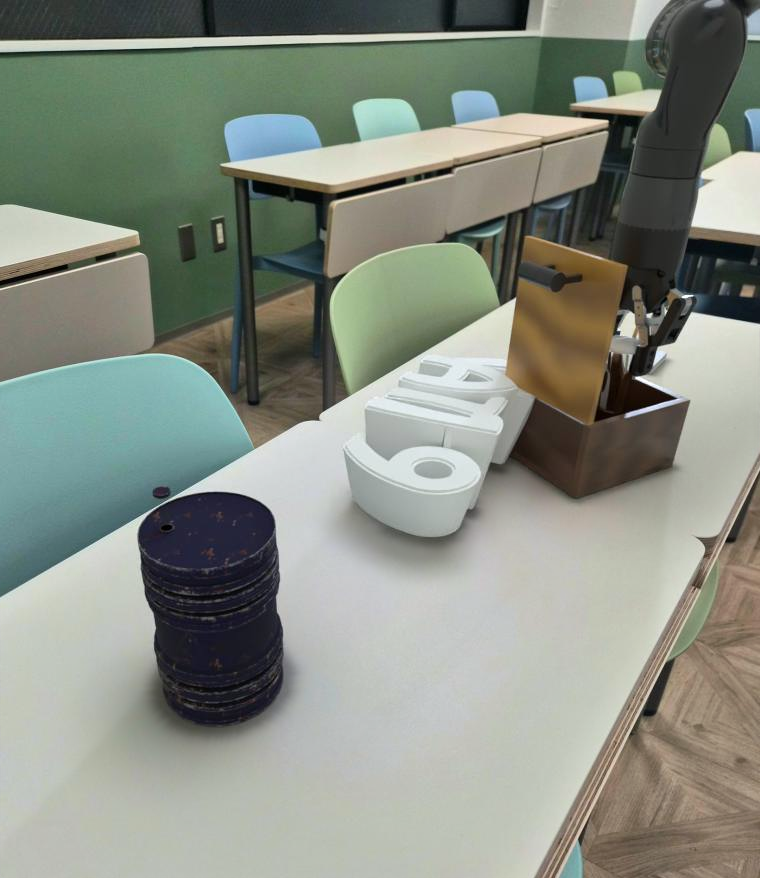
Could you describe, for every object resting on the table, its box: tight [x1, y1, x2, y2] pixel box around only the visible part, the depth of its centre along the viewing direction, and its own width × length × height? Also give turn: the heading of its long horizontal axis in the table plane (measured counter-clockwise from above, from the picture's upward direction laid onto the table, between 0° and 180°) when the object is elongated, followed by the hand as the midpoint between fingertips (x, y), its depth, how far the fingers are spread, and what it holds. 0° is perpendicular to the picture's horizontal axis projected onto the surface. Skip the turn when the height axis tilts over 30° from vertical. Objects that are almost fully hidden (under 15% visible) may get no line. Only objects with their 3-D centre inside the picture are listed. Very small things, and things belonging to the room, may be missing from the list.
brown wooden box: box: [509, 376, 691, 500], centre depth 90 cm, size 16×14×9 cm
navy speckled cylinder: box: [136, 485, 285, 728], centre depth 55 cm, size 10×10×18 cm
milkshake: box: [598, 325, 639, 413], centre depth 88 cm, size 4×5×10 cm
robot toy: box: [647, 350, 668, 375], centre depth 120 cm, size 7×12×2 cm, turn 54°
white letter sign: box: [342, 353, 537, 538], centre depth 84 cm, size 35×16×10 cm, turn 149°
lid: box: [505, 235, 628, 425], centre depth 78 cm, size 17×14×5 cm
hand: (622, 366), depth 87 cm, fingers closed on milkshake, 4 cm apart
